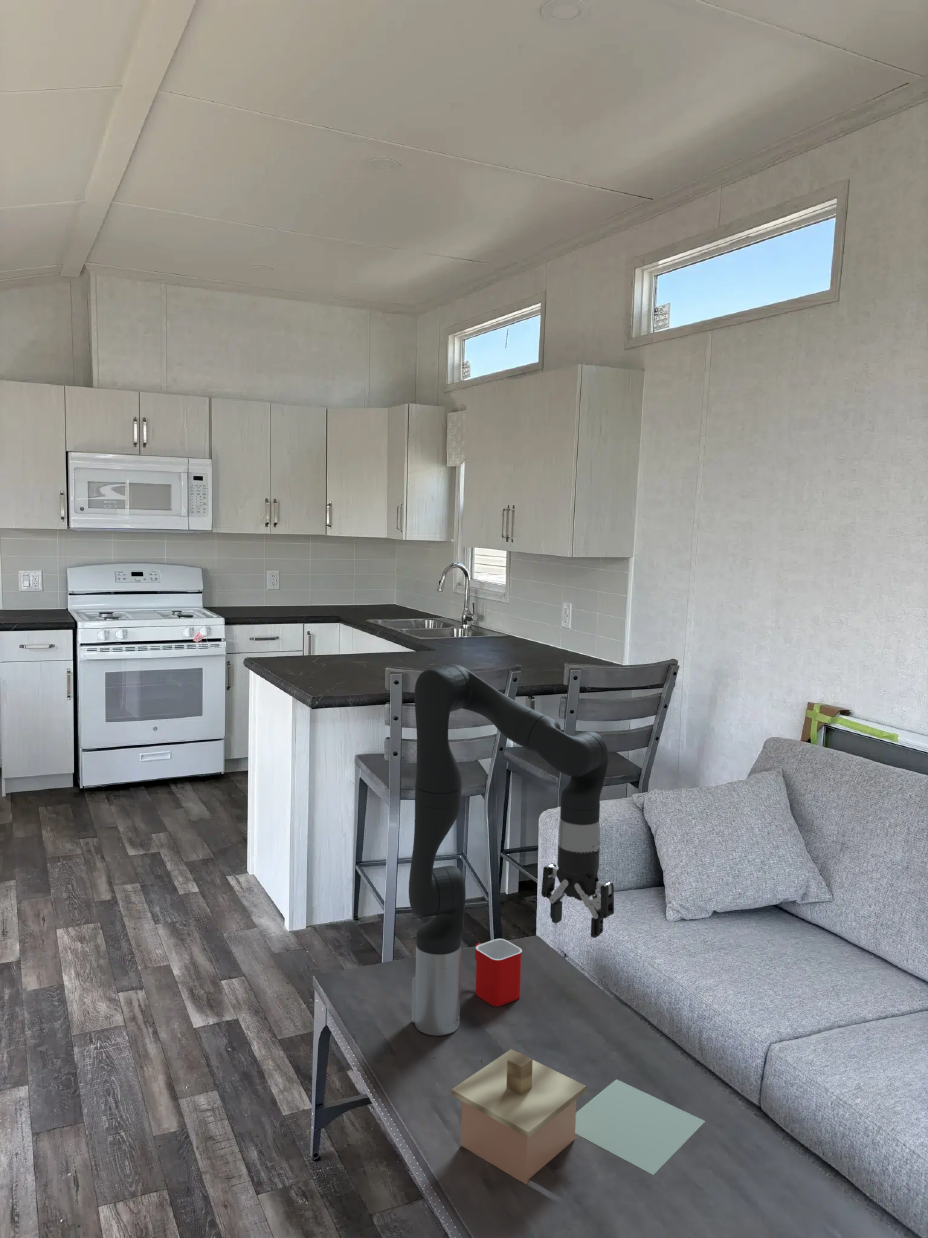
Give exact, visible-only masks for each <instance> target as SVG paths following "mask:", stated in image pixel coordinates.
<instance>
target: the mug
mask: <svg viewBox="0 0 928 1238" xmlns="http://www.w3.org/2000/svg"><path fill="white" fill-rule="evenodd" d="M474 946H475V947H474V958H475V964H476V965H475V970H476V971H475V995H476V996H477V997H478V998H480V999H481V1000H483V1001H484V1002H486V1003H488V1004H489V1005H490V1006H493V1007H501V1006H504V1005H506V1004H509V1003H512V1002H514V1001H516V1000H518V999H520V997H521V975H522V974H521V971H522V969H521V968H522V954H523V949H522V948H521V947H520V946H517V945H515V944H514V943H512V942H510V940H509V941H508V940H507V939H505V938H496V939H491V940H489V941H486V942H484V943H479V942H478V943H476V944H475V945H474Z"/></svg>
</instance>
